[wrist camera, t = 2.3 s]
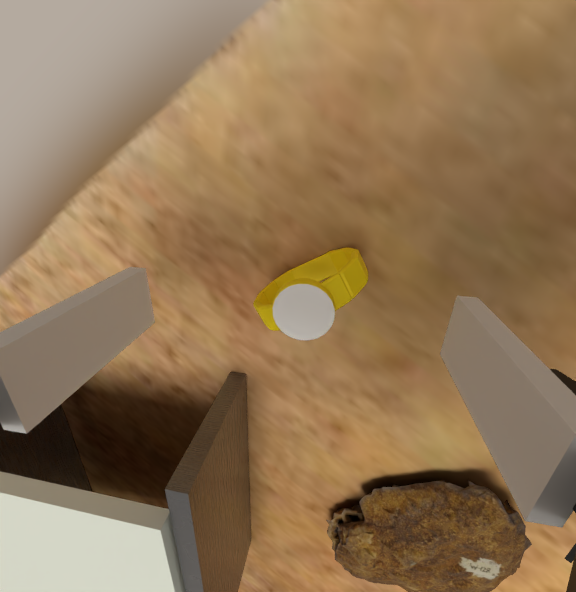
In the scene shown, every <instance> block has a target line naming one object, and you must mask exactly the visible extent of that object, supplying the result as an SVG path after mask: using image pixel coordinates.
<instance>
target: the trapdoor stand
mask: <svg viewBox="0 0 576 592" xmlns="http://www.w3.org/2000/svg"><path fill="white" fill-rule="evenodd" d="M0 471H1V472H5V473H10V474H14V475H19V476H23V477H27V478H32V479H36V480H41V481H45V482H50V483H54V484H59V485H63V486H68V487H72V488H77V489H81V490H86V491H90V492H92V490H91V487H90V484H89V481H88V479H87V476H86V473H85V470H84V467H83V465H82V462H81V459H80V456H79V454H78V451H77V448H76V445H75V442H74V440H73V437H72V434H71V431H70V428H69V426H68V423H67V420H66V417H65V414H64V412H63V409H62V406H61V404H60V405H59V406H58V407H57V408H56V409H55V410H54V411H52V412H51V413H50V414H49V415H48V416H47V417H45V418H44V419H43V420H42V421H41V422H40V423H39V424H37V425H36V426H35V427H34V428H33V429H32V430H31V431H29V432H28V433H27V434H25V433H20V432H14V431H8V430H4V429H3V427H2V425H1V423H0ZM165 493H166V498H167V503H168V508H169V512H170V517H171V522H172V527H173V532H174V537H175V541H176V546H177V551H178V556H179V561H180V566H181V570H182V575H183V580H184V585H185V590H186V592H238V589H239V585H240V581H241V577H242V573H243V570H244V566H245V562H246V558H247V554H248V550H249V546H250V542H251V519H250V487H249V455H248V422H247V390H246V374H242V373H235V372H230V374H229V376H228V377H227V379H226V381H225V383H224V384H223V386H222V388H221V390H220V392H219V393H218V395H217V397H216V399H215V400H214V402H213V404H212V406H211V408H210V409H209V411H208V413H207V415H206V416H205V418H204V420H203V422H202V424H201V425H200V427H199V429H198V431H197V432H196V434H195V436H194V438H193V440H192V441H191V443H190V445H189V447H188V448H187V450H186V452H185V454H184V456H183V457H182V459H181V461H180V463H179V465H178V466H177V468H176V470H175V472H174V473H173V475H172V477H171V479H170V481H169V482H168V484H167V486H166V488H165Z"/></svg>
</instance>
